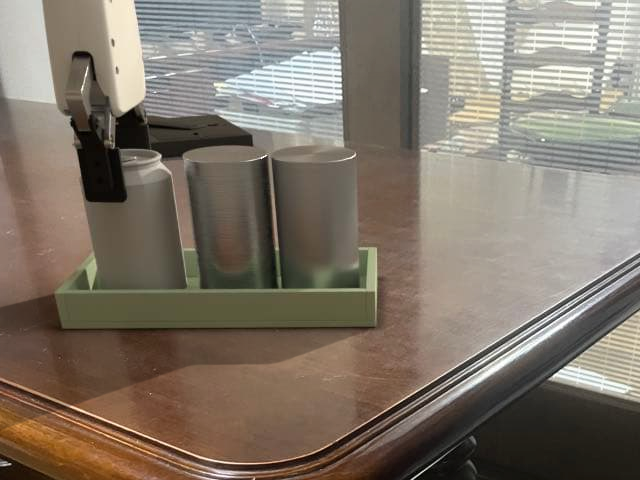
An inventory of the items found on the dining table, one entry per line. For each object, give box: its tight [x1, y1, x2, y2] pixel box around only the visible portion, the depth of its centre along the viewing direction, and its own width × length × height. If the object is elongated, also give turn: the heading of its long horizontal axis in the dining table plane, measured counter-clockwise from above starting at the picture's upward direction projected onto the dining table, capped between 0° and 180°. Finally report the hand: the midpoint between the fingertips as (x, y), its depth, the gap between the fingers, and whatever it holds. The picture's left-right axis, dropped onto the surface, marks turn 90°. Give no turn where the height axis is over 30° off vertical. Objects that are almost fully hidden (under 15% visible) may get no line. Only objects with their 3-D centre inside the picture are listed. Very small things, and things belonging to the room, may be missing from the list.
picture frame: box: [141, 114, 254, 158], centre depth 141 cm, size 16×3×21 cm
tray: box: [53, 246, 378, 330], centre depth 79 cm, size 27×13×3 cm, turn 91°
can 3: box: [270, 144, 360, 289], centre depth 76 cm, size 7×7×12 cm
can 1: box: [78, 149, 187, 290], centre depth 76 cm, size 8×8×12 cm
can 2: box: [181, 146, 279, 289], centre depth 76 cm, size 7×7×12 cm
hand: (122, 186), depth 74 cm, fingers open, 9 cm apart
